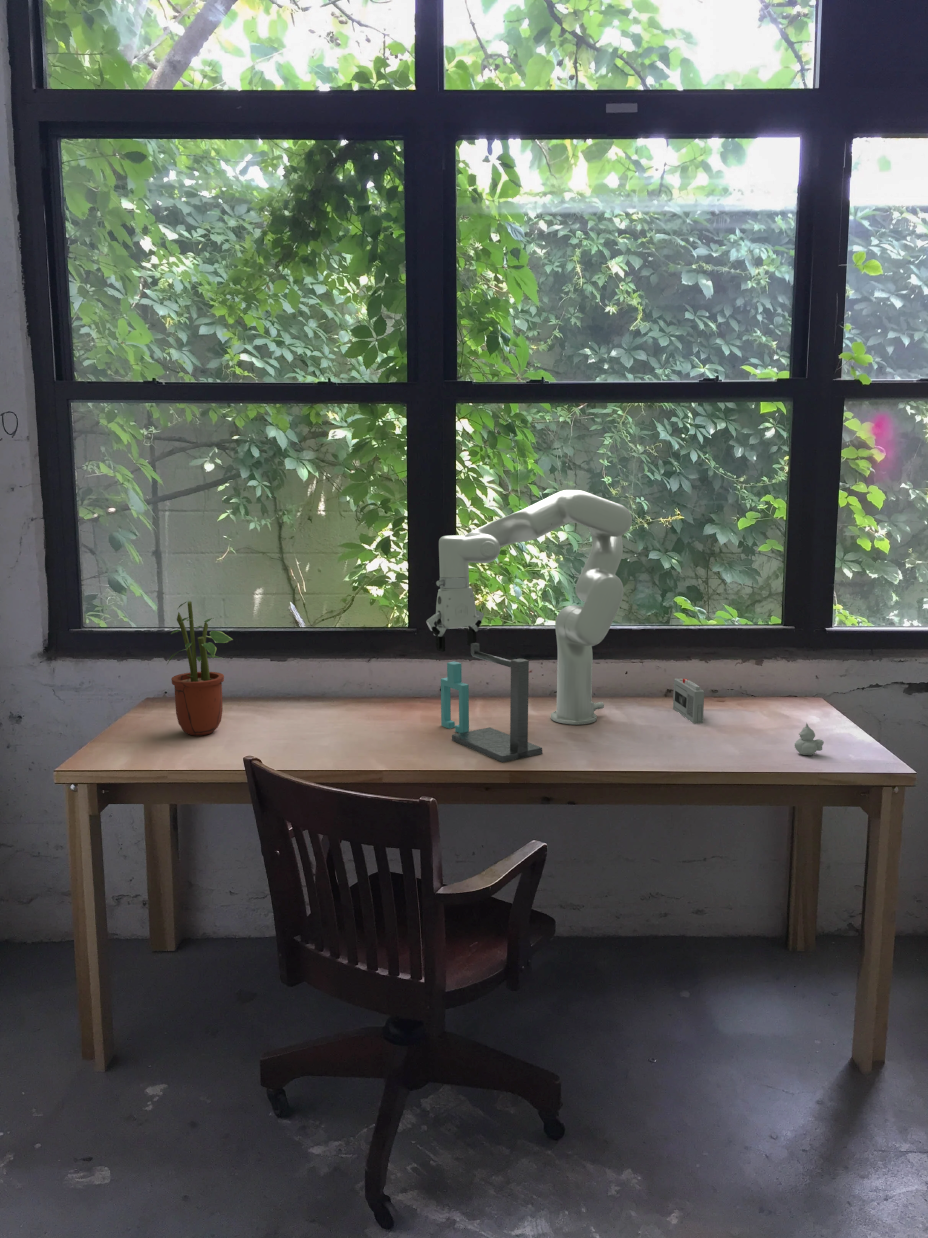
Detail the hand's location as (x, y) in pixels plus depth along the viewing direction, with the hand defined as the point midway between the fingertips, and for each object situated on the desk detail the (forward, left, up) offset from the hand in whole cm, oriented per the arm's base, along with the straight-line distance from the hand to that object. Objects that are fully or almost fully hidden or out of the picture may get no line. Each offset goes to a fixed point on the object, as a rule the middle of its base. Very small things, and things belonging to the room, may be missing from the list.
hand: (456, 648), depth 236 cm
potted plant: (+57, -37, -22) cm, 71 cm away
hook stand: (+1, +19, -22) cm, 29 cm away
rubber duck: (-58, +66, -22) cm, 91 cm away
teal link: (0, 0, -22) cm, 22 cm away
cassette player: (-61, +25, -22) cm, 70 cm away
